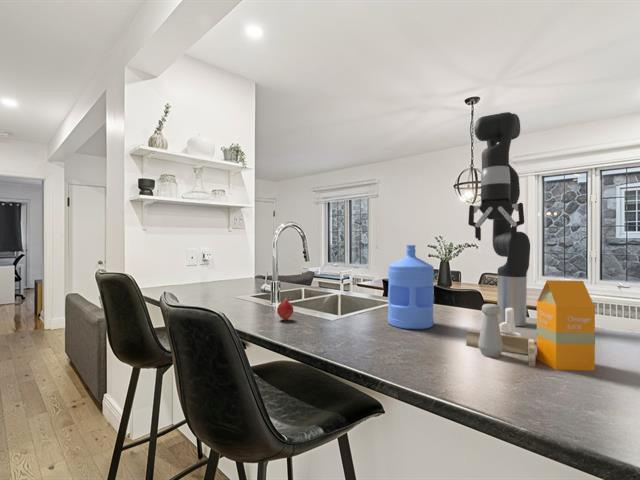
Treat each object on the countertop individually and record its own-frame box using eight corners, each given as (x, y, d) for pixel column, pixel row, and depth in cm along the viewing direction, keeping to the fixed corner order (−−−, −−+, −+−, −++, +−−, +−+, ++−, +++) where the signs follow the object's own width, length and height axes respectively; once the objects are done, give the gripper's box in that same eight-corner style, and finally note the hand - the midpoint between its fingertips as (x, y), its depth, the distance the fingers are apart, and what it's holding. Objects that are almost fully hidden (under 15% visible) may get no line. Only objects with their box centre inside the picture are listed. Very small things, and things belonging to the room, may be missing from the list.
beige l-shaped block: (466, 344, 100) (466, 330, 100) (533, 353, 92) (533, 338, 92) (460, 355, 89) (461, 339, 89) (535, 367, 81) (535, 349, 81)
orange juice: (536, 358, 88) (536, 278, 88) (572, 359, 87) (572, 279, 88) (556, 369, 80) (556, 282, 80) (595, 370, 80) (596, 282, 80)
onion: (275, 321, 126) (275, 299, 126) (279, 318, 131) (280, 296, 131) (291, 322, 125) (291, 299, 125) (294, 318, 130) (295, 297, 130)
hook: (501, 326, 99) (492, 309, 105) (501, 353, 106) (492, 335, 111) (529, 322, 98) (518, 304, 104) (527, 350, 104) (517, 332, 110)
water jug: (386, 319, 132) (387, 244, 133) (429, 320, 130) (430, 245, 130) (388, 328, 117) (389, 244, 117) (437, 331, 115) (438, 245, 115)
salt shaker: (474, 354, 90) (474, 304, 90) (483, 350, 94) (483, 301, 94) (498, 360, 86) (498, 307, 86) (506, 355, 90) (506, 304, 90)
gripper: (467, 184, 101) (467, 240, 101) (524, 179, 94) (524, 240, 94) (469, 187, 107) (470, 240, 107) (523, 183, 101) (524, 240, 100)
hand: (495, 240), depth 101 cm, fingers open, 8 cm apart
